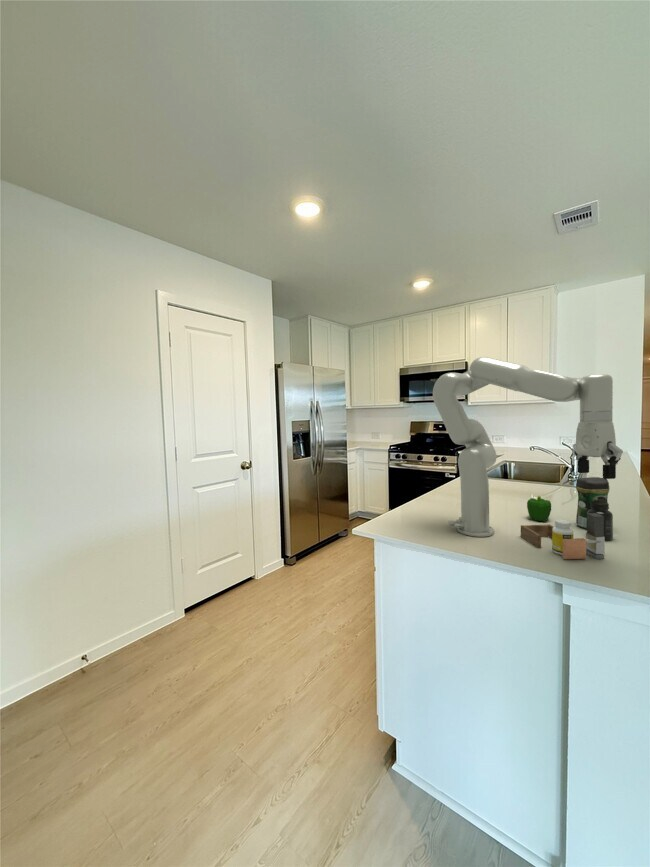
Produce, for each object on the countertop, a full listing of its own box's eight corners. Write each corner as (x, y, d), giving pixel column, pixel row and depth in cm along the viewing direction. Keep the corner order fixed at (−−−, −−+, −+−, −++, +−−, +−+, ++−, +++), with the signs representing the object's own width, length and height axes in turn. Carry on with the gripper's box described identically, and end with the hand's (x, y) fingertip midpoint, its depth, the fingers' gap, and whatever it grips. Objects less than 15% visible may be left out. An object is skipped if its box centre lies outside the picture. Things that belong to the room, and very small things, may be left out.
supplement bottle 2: (607, 534, 119) (607, 500, 119) (616, 541, 113) (617, 505, 112) (584, 533, 122) (584, 499, 121) (591, 540, 115) (592, 504, 115)
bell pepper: (530, 515, 144) (530, 491, 144) (553, 519, 138) (553, 494, 138) (523, 519, 139) (523, 495, 138) (547, 524, 132) (547, 498, 132)
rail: (595, 559, 101) (595, 555, 101) (556, 537, 118) (556, 534, 118) (604, 558, 101) (604, 554, 101) (563, 537, 118) (563, 534, 118)
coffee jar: (597, 523, 131) (597, 475, 130) (614, 530, 123) (614, 479, 122) (571, 524, 131) (571, 476, 130) (586, 531, 123) (586, 480, 122)
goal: (538, 547, 111) (537, 535, 111) (520, 536, 121) (520, 525, 121) (569, 546, 111) (569, 534, 111) (549, 535, 121) (549, 524, 120)
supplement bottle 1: (563, 557, 103) (563, 524, 103) (547, 550, 109) (547, 519, 108) (577, 554, 105) (577, 522, 104) (561, 548, 110) (561, 517, 109)
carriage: (565, 559, 101) (565, 518, 100) (556, 553, 105) (556, 514, 104) (605, 557, 101) (605, 516, 100) (594, 552, 105) (594, 512, 104)
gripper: (562, 417, 109) (562, 471, 110) (606, 418, 92) (606, 481, 93) (586, 416, 109) (586, 470, 110) (635, 417, 92) (634, 480, 93)
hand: (595, 475), depth 102 cm, fingers open, 9 cm apart
